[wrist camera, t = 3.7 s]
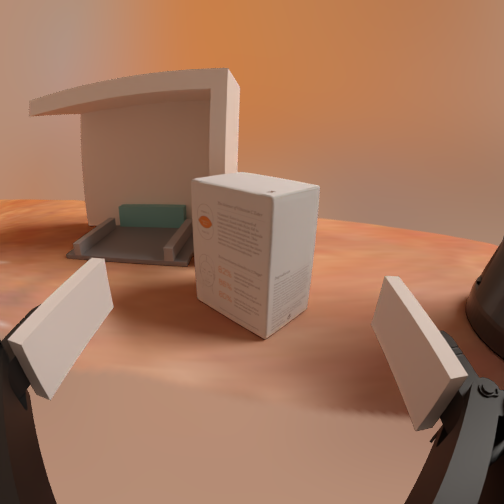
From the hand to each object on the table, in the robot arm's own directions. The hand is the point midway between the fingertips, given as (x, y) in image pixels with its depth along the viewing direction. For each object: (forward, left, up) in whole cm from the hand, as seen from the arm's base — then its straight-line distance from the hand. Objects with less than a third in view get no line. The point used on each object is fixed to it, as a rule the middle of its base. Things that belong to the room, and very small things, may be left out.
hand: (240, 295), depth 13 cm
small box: (+10, 0, -7) cm, 12 cm away
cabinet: (+23, +15, -7) cm, 28 cm away
